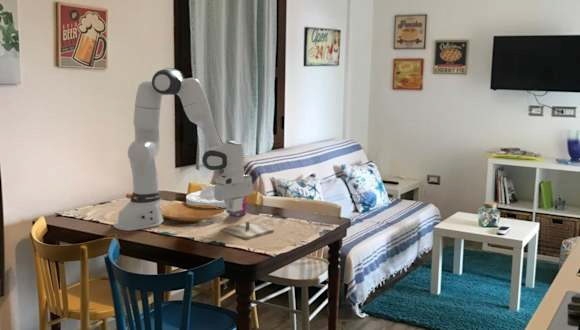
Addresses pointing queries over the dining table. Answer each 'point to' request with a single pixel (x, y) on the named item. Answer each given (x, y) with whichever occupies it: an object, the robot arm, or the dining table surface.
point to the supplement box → (242, 208)
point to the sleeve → (235, 206)
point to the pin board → (247, 230)
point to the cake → (205, 197)
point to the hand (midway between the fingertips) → (234, 207)
